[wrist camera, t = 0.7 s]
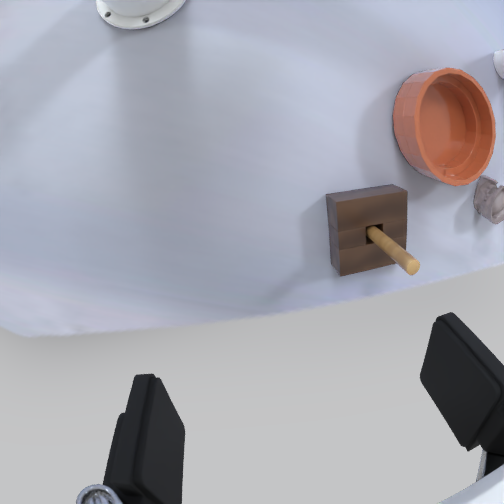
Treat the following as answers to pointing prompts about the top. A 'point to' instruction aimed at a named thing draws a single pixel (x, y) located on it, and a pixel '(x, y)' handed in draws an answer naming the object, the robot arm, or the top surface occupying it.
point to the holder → (354, 226)
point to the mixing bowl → (445, 125)
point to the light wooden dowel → (393, 250)
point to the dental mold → (489, 199)
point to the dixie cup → (499, 62)
